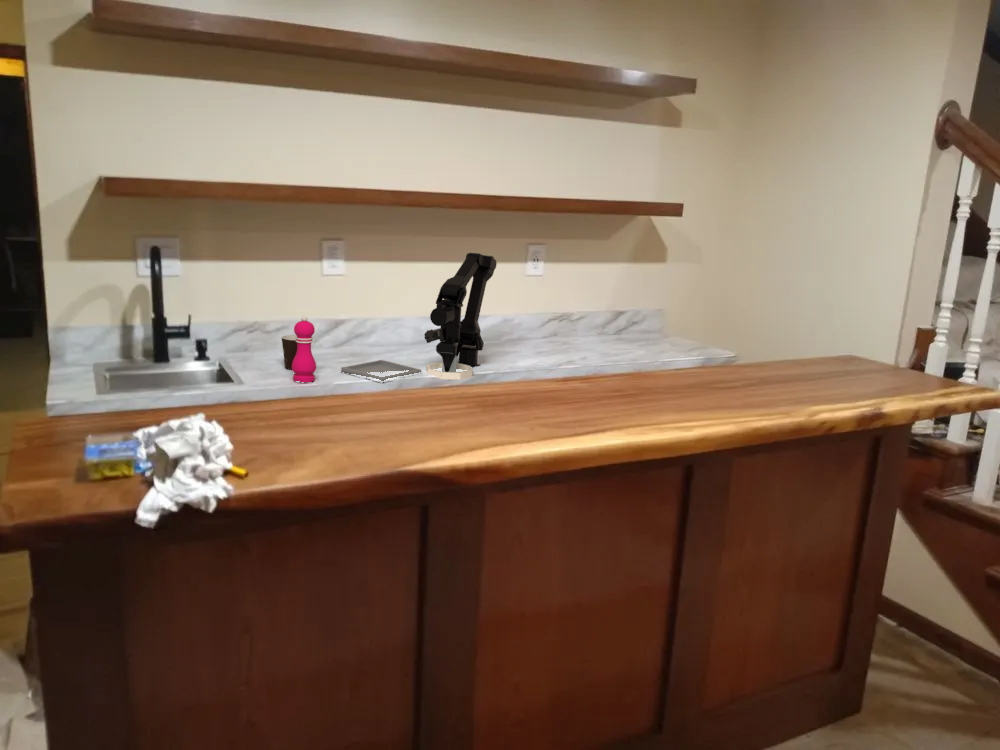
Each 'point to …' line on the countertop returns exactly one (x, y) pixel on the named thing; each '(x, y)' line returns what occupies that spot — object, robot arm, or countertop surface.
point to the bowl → (449, 374)
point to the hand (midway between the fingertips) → (449, 368)
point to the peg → (453, 366)
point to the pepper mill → (304, 352)
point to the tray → (378, 369)
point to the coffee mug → (289, 350)
